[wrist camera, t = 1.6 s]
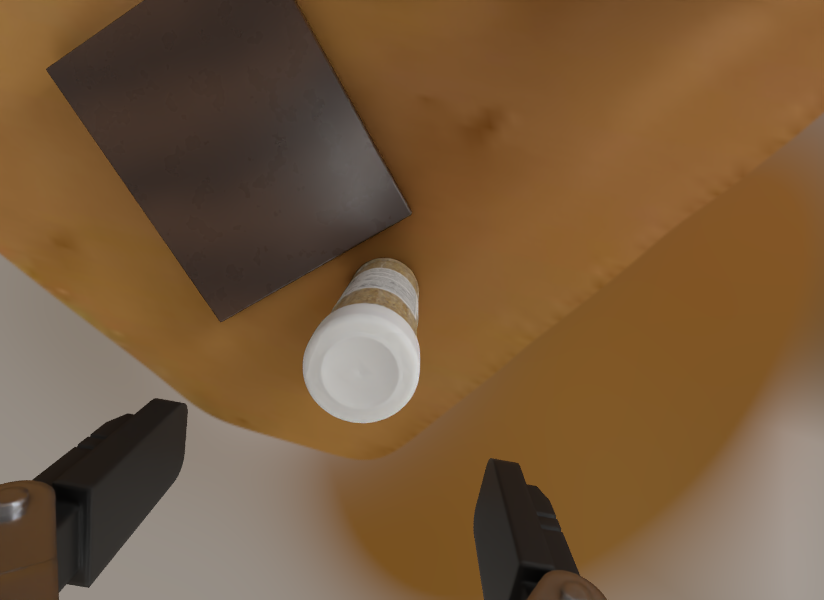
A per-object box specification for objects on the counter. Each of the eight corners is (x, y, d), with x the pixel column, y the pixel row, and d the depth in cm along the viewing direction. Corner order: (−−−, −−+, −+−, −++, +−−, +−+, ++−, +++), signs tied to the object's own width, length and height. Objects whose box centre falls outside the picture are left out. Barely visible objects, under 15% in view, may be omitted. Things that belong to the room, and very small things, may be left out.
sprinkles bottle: (386, 336, 32) (363, 449, 19) (335, 290, 31) (274, 374, 18) (434, 289, 31) (445, 372, 18) (383, 240, 30) (355, 290, 17)
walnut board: (64, 74, 28) (44, 68, 26) (260, -63, 26) (251, -77, 24) (229, 316, 31) (220, 322, 30) (412, 212, 30) (412, 214, 28)
